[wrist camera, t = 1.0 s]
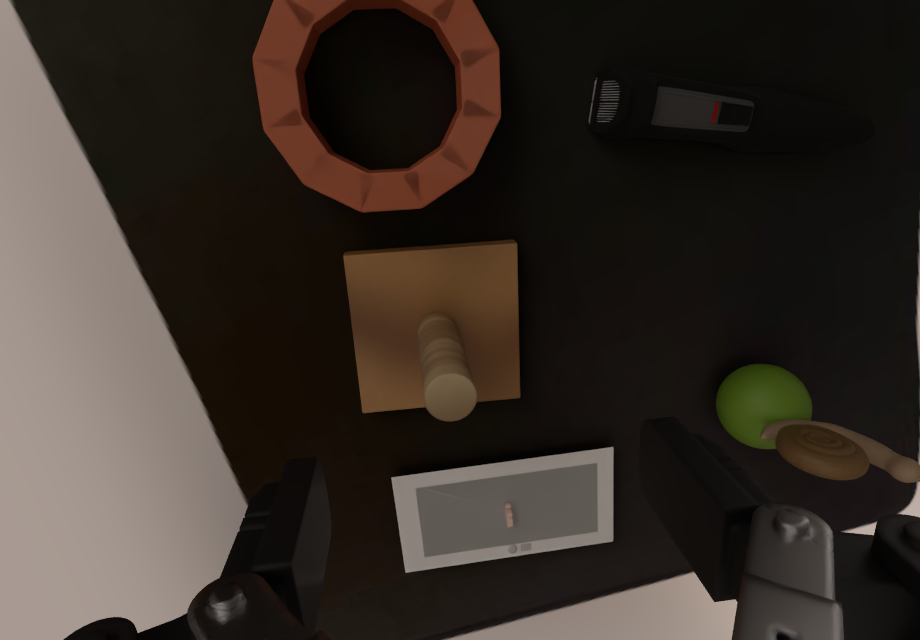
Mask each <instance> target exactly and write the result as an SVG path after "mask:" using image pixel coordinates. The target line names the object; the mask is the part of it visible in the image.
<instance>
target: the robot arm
mask: <svg viewBox="0 0 920 640" xmlns="http://www.w3.org/2000/svg"><path fill="white" fill-rule="evenodd" d="M639 482H640V486H641V490H642V493H643V495H644V497H645V499H646V500H647V502H648V503H649V505H650V506H651V508H652V509H653V511H654V512H655V514H656V515H657V517H658V518H659V520H660V521H661V523H662V524H663V526H664V527H665V529H666V530H667V532H668V533H669V535H670V536H671V538H672V539H673V541H674V542H675V544H676V545H677V547H678V548H679V550H680V551H681V553H682V554H683V556H684V557H685V559H686V560H687V562H688V563H689V565H690V566H691V568H692V569H693V571H694V572H695V574H696V575H697V577H698V578H699V580H700V581H701V583H702V584H703V586H704V587H705V588H706V590H707V591H708V593H709V594H710V596H711V598H712V599H713V600H714V602H719V601H725V600H732V599H736V601H737V602H738V604H737V611H736V616H735V622H734V629H733V635H732V640H920V518H919V517H915V516H910V515H902V514H893V515H887V516H884V517H882V518H880V519H879V520H878V522H877V524H876V529H875V533H874V535H864V534H855V533H845V532H836V531H831V529H830V527H829V526H828V525H827V524H826V523H825V522H824V521H823V520H822V519H821V518H820V517H818V516H817V515H815V514H813V513H812V512H810V511H808V510H805V509H803V508H800V507H797V506H794V505H789V504H782V503H777V502H776V501H775V500H774V499H773V498H772V497H771V496H770V495H769V494H768V493H767V492H766V491H765V490H764V489H763V488H762V487H761V486H760V485H759V484H758V483H757V482H756V481H755V480H754V479H753V478H752V477H751V476H750V475H749V474H748V473H747V472H746V471H745V470H742V467H741V466H740V465H739V464H738V463H737V462H736V461H735V460H734V459H731V456H730V455H729V454H728V453H727V452H726V451H725V450H724V449H723V448H722V447H721V446H719V445H718V444H717V443H715V442H713V441H711V440H710V439H708V438H706V437H704V436H702V435H700V434H691V433H690V432H689V431H688V429H687V428H686V427H685V426H684V425H683V424H682V423H681V422H680V421H679V420H678V419H677V418H675V417H665V418H657V419H648V420H644V421H643V422H642V425H641V433H640V453H639ZM330 537H331V514H330V507H329V501H328V496H327V490H326V484H325V479H324V473H323V467H322V462H321V459H320V457H311V458H302V459H294V460H288V461H287V462H286V465H285V468H284V471H283V474H282V477H281V480H280V482H278V483H270V484H265V485H264V486H263V487H262V488H261V489H260V490H259V491H258V492H257V493H256V494H255V495H254V496H253V498H252V499H251V500H250V503H249V505H248V508H247V511H246V513H245V518H243V521H242V523H241V526H240V531H239V532H238V533H237V536H236V539H235V541H234V544H233V546H232V549H231V551H230V554H229V556H228V559H227V561H226V564H225V566H224V569H223V571H222V574H221V576H220V578H219V579H217V580H215V581H213V582H212V583H210V584H208V585H207V586H206V587H204V588H203V589H202V590H201V591H200V592H199V593H198V594H197V595H196V596H195V598H194V599H193V600H192V602H191V604H190V606H189V608H188V612H187V613H186V614H185V615H183V616H181V617H179V618H176V619H174V620H172V621H169V622H166V623H164V624H161V625H159V626H156V627H153V628H151V629H148V630H145V631H143V632H140V633H137V630H136V628H135V625H134V624H133V623H132V622H131V621H130V620H128V619H126V618H121V617H113V618H106V619H102V620H98V621H95V622H92V623H90V624H88V625H86V626H84V627H82V628H80V629H78V630H77V631H75V632H73V633H72V634H70V635H69V636H68V637H67V638H65V639H64V640H331V639H330V638H329V637H328V636H327V635H326V634H325V633H324V632H322V631H317V632H316V633H315V628H316V622H317V616H318V610H319V604H320V598H321V592H322V586H323V580H324V573H325V567H326V561H327V555H328V549H329V543H330Z"/></svg>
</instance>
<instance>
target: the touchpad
mask: <svg viewBox="0 0 920 640" xmlns="http://www.w3.org/2000/svg"><path fill="white" fill-rule="evenodd" d="M391 479H392V485H393V492H394V499H395V505H396V512H397V519H398V525H399V532H400V539H401V546H402V552H403V559H404V566H405V572H406V573H407V572H413V571H420V570H427V569H433V568H440V567H446V566H453V565H460V564H466V563H473V562H480V561H486V560H493V559H500V558H506V557H513V556H519V555H526V554H533V553H539V552H546V551H553V550H559V549H566V548H572V547H579V546H586V545H592V544H599V543H606V542H612V541H613V447H609V448H601V449H594V450H587V451H580V452H572V453H565V454H558V455H551V456H543V457H536V458H529V459H522V460H514V461H507V462H500V463H493V464H485V465H478V466H471V467H463V468H456V469H449V470H442V471H434V472H427V473H420V474H413V475H405V476H398V477H391Z"/></svg>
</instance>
